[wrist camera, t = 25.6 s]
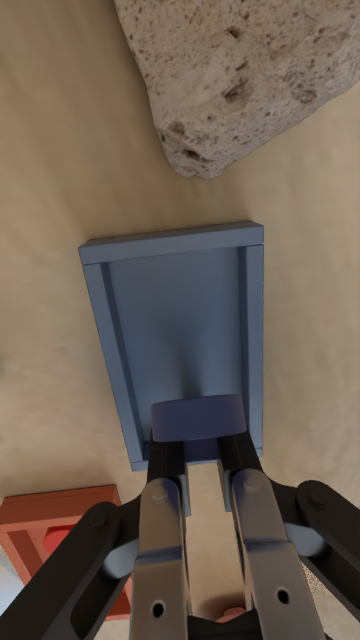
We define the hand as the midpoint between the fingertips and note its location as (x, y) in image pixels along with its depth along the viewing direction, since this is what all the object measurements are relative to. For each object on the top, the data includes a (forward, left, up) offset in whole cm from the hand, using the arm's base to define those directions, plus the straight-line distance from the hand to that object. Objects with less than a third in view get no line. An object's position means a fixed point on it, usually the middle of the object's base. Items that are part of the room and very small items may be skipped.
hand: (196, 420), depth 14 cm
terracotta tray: (-16, +10, -4) cm, 19 cm away
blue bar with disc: (+1, 0, 0) cm, 1 cm away
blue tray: (+1, 0, -4) cm, 4 cm away
